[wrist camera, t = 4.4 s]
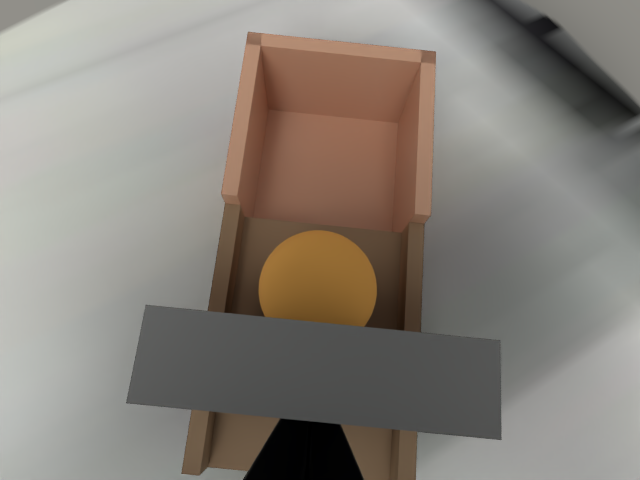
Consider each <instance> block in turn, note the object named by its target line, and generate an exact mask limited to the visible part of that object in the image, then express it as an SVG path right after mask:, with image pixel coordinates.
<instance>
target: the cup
mask: <svg viewBox="0 0 640 480" xmlns="http://www.w3.org/2000/svg"><path fill="white" fill-rule="evenodd" d="M435 65H436V52H435V51H425V50H416V49H406V48H397V47H387V46H378V45H368V44H359V43H349V42H339V41H330V40H320V39H311V38H301V37H292V36H282V35H273V34H263V33H254V32H248V35H247V41H246V47H245V53H244V59H243V65H242V71H241V77H240V83H239V89H238V95H237V101H236V107H235V113H234V119H233V125H232V131H231V137H230V143H229V149H228V155H227V161H226V167H225V173H224V179H223V186H222V192H221V195H222V197H223V199H224V202H225V203H227V204H237V205H241V207H242V210H243V213H244V216H245V217H252V218H261V219H271V220H281V221H291V222H301V223H311V224H320V225H330V226H340V227H350V228H360V229H370V230H379V231H389V232H399V233H402V231H403V230H404V229H405V227H406V226H407V224H408V223H409V222H414V223H423V224H425V222H426V221H427V220H428V219H429V217H430V216H431V197H432V164H433V131H434V98H435Z"/></svg>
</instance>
